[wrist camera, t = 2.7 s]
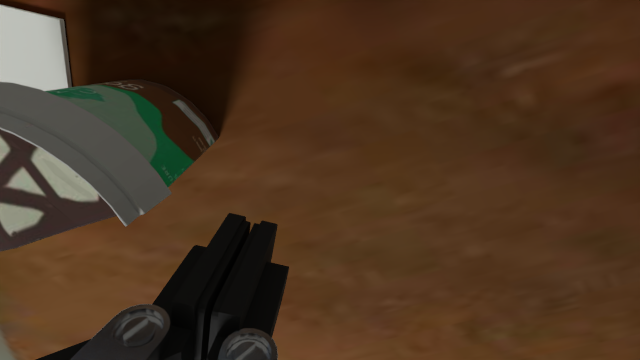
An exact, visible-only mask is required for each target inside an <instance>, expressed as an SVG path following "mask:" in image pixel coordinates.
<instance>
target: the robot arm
mask: <svg viewBox="0 0 640 360" xmlns="http://www.w3.org/2000/svg"><path fill="white" fill-rule="evenodd" d="M276 231H277V224H275V223H270V222H266V221H261V223H260V224H256V223H255V224H254V225H253V227H252V229H251V231H250V222H247V221H246V217H245V216H240V215H236V214H232V213H229V214H228V215H227V217H226V218H225V220H224V222H223V223H222V225H221V226H220V228H219V229H218V231H217V232H216V234H215V235H214V237H213V238H212V240H211V242H210V243H209V245H208V246H207V247H202V246H198V245H195V246H194V247H193V248H192V249H191V250H190V252H189V253H188V255H187V256H186V257H185V259H184V260H183V262H182V263H181V265H180V266H179V267H178V269H177V270H176V272H175V273H174V274H173V276H172V277H171V279H170V280H169V281H168V283H167V284H166V286H165V287H164V288H163V290H162V291H161V293H160V294H159V296H158V297H157V298H156V300H155V301H154V303H153V304H140V305H136V306H132V307H129V308H127V309H125V310H123V311H121V312H120V313H119V314H117V315H116V316H115V317H113V318H112V319H111V320H110V321H109V322H108V323H107V324H106V325H105V326H104V327H103V328H102V329H101V330H100V331H99V332H98V333H97V334H96V335H95V336H94V337H93V338H92V339H90V340H87V341H84V342H82V343H79V344H76V345H74V346H71V347H68V348H66V349H63V350H60V351H57V352H55V353H52V354H49V355H47V356H44V357H41V358H39V359H36V360H277V358H278V353H277V346H276V344H275V342H274V340H273V339H272V335H273V331H274V327H275V324H276V320H277V316H278V312H279V309H280V305H281V301H282V297H283V293H284V289H285V284H286V280H287V275H288V270H289V267H288V266H283V265H279V264H275V263H271V258H272V253H273V247H274V242H275V236H276ZM249 232H250V233H249Z"/></svg>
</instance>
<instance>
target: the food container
mask: <svg viewBox="0 0 640 360" xmlns="http://www.w3.org/2000/svg"><path fill="white" fill-rule="evenodd" d="M218 138H219V137H218V135H217V133H216V132H215V130H214V128H213V127H212V125H211V123H210V122H209V120H208V119H207V118H206V117H205V116H204V115H203V114H202V113H201V112H200V111H199V110H198V109H197V108H196V107H195V105H194V104H193V103H192V102H191V101H190V100H188V99H187V98H185V97H183V96H182V95H180V94H178V93H177V92H175V91H174V90H172V89H170V88H169V87H167V86H165V85H161V84H157V83H154V82H150V81H146V80H143V79H132V80H119V81H112V82H105V83H98V84H91V85H84V86H77V87H70V88H63V89H56V90H49V91H43V90H40V89H36V88H32V87H28V86H24V85H20V84H16V83H10V82H0V251H4V250H9V249H14V248H18V247H21V246H24V245H26V244H29V243H32V242H35V241H38V240H41V239H44V238H46V237H50V236H53V235H56V234H59V233H62V232H65V231H68V230H71V229H74V228H77V227H81V226H84V225H87V224H91V223H94V222H98V221H101V220H104V219H108V218H111V217H114V216H118V217H119V219H120V220H121V221H122V223H123V224H124V225H125V226H127V225H129V224H130V223H131V222H132V221H133V220H135V219H136V218H137V217H138V216H139V215H142V214H145V213H146V212H148V211H149V210H150V209H152V208H153V207H154V206H156V205H157V204H158V203H160V202H161V201H162V200H164V199H165V198H166V197H168V196H169V195H170V194H172V193H171V192H170V190H169V189H168V187H169V186H170V185H171V184H172V183H173V182H174V181H175V180H176V179H177V178H178V177H179V176H180V175H181V174H182V173H183V172H184V171H185V170H186V169H187V168H188V167H189V166H191V165H192V164H193V163H194V162H195V161H196V160H197V159H198V158H199V157H200V156H201V155H202V154H203V153H204V152H205V151H206V150H207V149H208V148H209V147H210V146H211V145H212V144H213V143H214V142H215V141H216V140H217V139H218Z"/></svg>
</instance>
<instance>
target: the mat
mask: <svg viewBox="0 0 640 360" xmlns="http://www.w3.org/2000/svg"><path fill="white" fill-rule="evenodd" d="M0 82H10V83H16V84H20V85H24V86H28V87H32V88H36V89H40V90H43V91H49V90H56V89H63V88H70V87H72V83H71V74H70V66H69V58H68V50H67V41H66V33H65V25H64V19H60V18H56V17H52V16H47V15H43V14H39V13H35V12H31V11H27V10H22V9H18V8H14V7H10V6H6V5H2V4H0Z"/></svg>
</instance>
